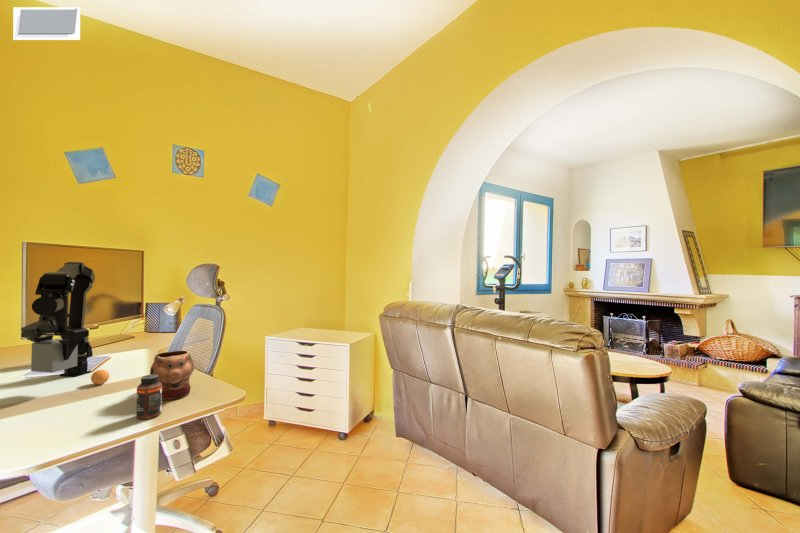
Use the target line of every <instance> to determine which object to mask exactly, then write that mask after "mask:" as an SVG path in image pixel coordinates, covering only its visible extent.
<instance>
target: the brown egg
mask: <svg viewBox="0 0 800 533" xmlns="http://www.w3.org/2000/svg"><path fill="white" fill-rule="evenodd" d="M109 378H110V373H109V371H108V370H106V369H98V370H95V371H94V372H93V373H92V375H91V376H90V381H91V382H92V383H93V384H94V385H103V384H105V383H107V381H108V380H109Z"/></svg>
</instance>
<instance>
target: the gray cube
mask: <svg viewBox="0 0 800 533" xmlns="http://www.w3.org/2000/svg"><path fill="white" fill-rule="evenodd" d="M58 340H63V339H61V338H53V339H52V340H48V341H42V342H37V343H34V342H32V343H31V355H30V356H31V357H30V358H31V364H30V366H31V367H30V371H31V372H38V373H50V374H51V373H56V372H60V371H64V369H68V368H71V367H75V366H77V355H78V345H77V346H76V348H75V349H74V351H73V352H72V354H71V356H70V357H69V359H68V360H64V357H63V345H62V344H61V343H60V342H59V341H58Z"/></svg>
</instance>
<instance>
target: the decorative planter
mask: <svg viewBox="0 0 800 533" xmlns="http://www.w3.org/2000/svg"><path fill="white" fill-rule="evenodd" d="M194 368H195V365H194V361H193V359H192V357H191V353H190V352H189V351H188V350H173V351H164V352H159V353H157V354H155V356H154V360H153V363H152V364H151V366H150V370H149V375H153V374H156V375H158V381H159V382H161V384H162V400H173V399H179V398H183V397H186V396H189V395H190V392H191V387H192V386H191V385H190V384H191V383H190V379H191V376H192V374H193V372H194V370H195V369H194Z"/></svg>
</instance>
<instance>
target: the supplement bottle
mask: <svg viewBox="0 0 800 533" xmlns="http://www.w3.org/2000/svg"><path fill="white" fill-rule="evenodd" d="M140 378H141V379H140V382H141V383H140V384H138V386H137V387H136V407H135V408H136V411H135V412H136V413H135V414H136V418H137V419H139V420H149V419H153V418H157V417H158V416H160V415H161V414H162V409H163V408H162V407H163V406H162V404H163V403H162V402H163V399H162V384H161V382H159V381H158V375H156V374H153V375H150V374H147V375H144V376H142V377H140Z"/></svg>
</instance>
